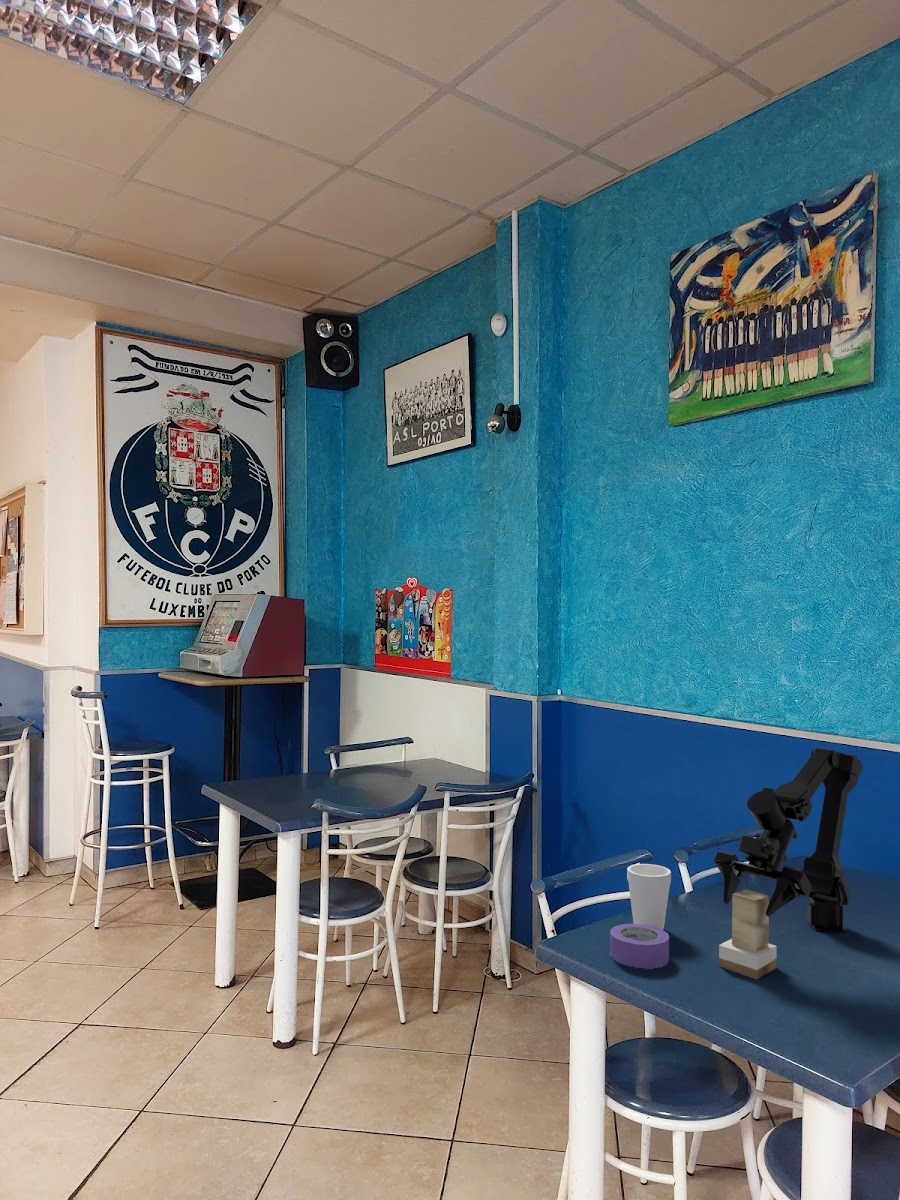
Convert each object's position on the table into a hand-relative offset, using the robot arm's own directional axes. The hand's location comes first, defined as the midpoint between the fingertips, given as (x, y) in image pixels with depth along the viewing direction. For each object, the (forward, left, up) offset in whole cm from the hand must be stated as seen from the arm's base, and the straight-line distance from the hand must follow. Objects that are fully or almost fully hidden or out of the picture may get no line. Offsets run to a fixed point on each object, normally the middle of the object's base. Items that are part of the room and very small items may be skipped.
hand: (745, 909), depth 170 cm
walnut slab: (-1, -1, -13) cm, 13 cm away
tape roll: (+20, -4, -12) cm, 24 cm away
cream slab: (-1, -1, -10) cm, 10 cm away
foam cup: (+16, -20, -12) cm, 28 cm away
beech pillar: (-1, -1, -7) cm, 8 cm away
